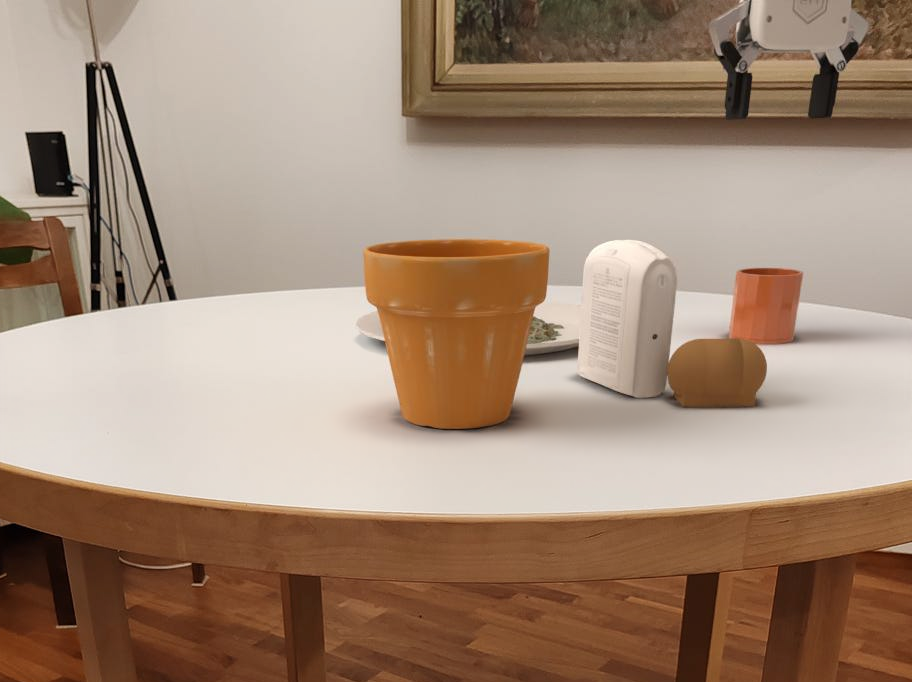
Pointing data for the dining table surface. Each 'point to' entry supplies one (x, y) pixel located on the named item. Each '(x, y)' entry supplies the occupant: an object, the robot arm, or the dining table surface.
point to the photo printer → (627, 317)
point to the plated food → (548, 331)
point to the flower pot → (456, 323)
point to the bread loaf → (717, 373)
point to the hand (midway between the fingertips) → (778, 118)
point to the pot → (765, 305)
